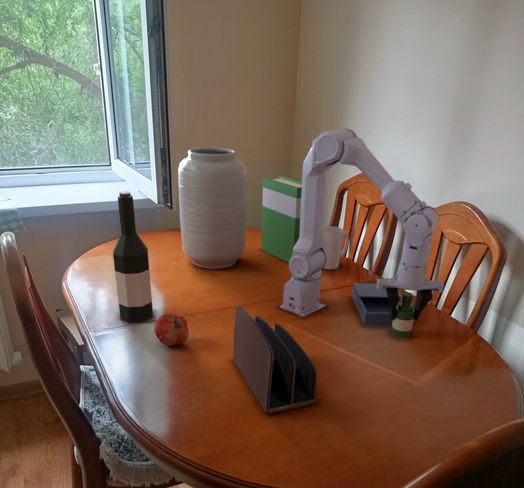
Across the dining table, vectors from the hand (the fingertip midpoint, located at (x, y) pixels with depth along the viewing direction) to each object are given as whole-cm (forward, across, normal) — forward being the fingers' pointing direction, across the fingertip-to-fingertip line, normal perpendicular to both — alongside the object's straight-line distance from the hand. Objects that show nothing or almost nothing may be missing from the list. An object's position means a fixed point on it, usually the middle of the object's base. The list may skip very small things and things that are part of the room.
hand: (403, 318), depth 115 cm
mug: (+5, +13, -46) cm, 48 cm away
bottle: (+4, 0, 0) cm, 4 cm away
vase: (+5, +51, -44) cm, 68 cm away
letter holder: (+5, +30, +23) cm, 38 cm away
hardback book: (+5, +28, -54) cm, 61 cm away
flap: (0, +4, -16) cm, 17 cm away
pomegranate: (+5, +53, +10) cm, 54 cm away
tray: (+4, +3, -12) cm, 13 cm away
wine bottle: (+5, +64, -3) cm, 65 cm away
